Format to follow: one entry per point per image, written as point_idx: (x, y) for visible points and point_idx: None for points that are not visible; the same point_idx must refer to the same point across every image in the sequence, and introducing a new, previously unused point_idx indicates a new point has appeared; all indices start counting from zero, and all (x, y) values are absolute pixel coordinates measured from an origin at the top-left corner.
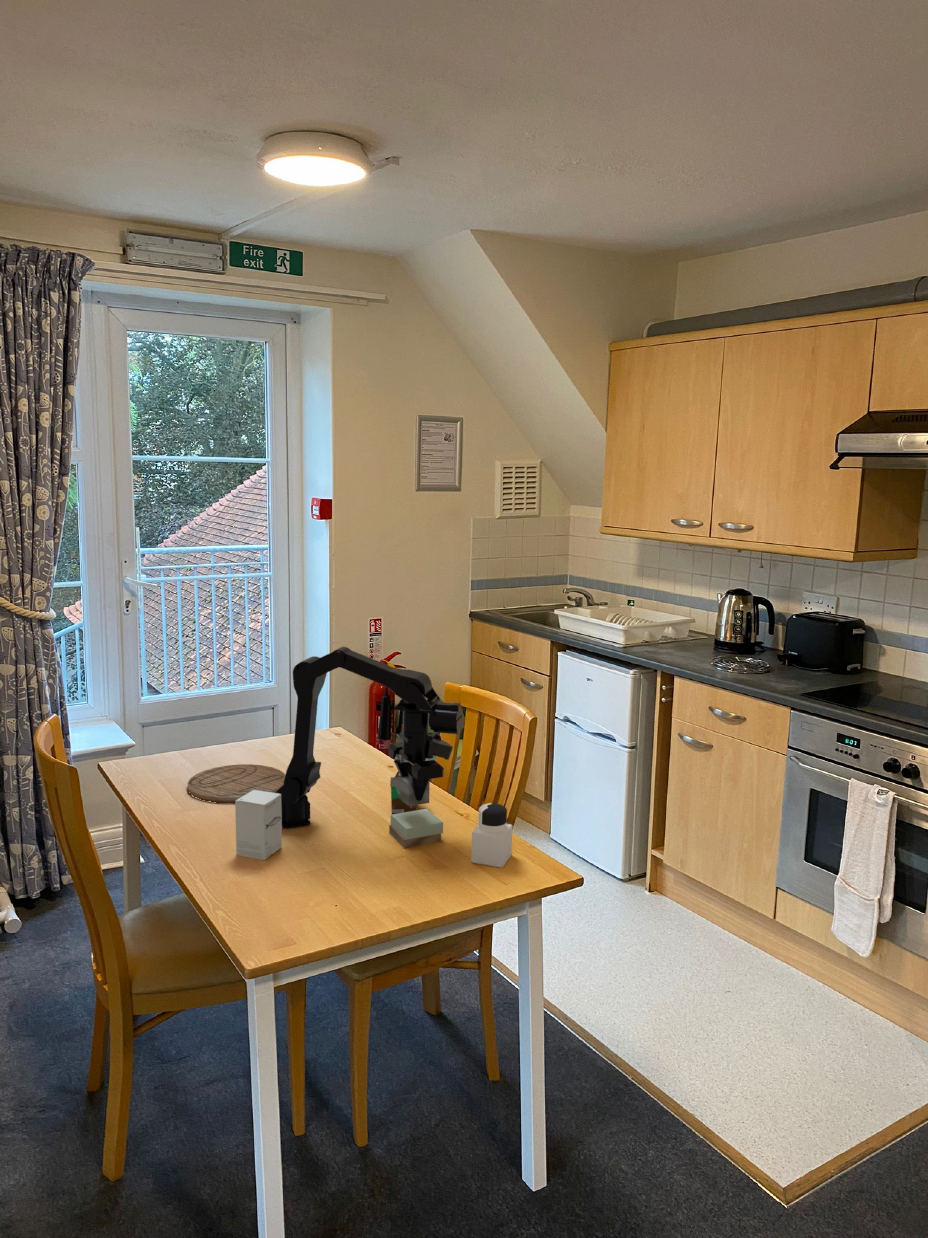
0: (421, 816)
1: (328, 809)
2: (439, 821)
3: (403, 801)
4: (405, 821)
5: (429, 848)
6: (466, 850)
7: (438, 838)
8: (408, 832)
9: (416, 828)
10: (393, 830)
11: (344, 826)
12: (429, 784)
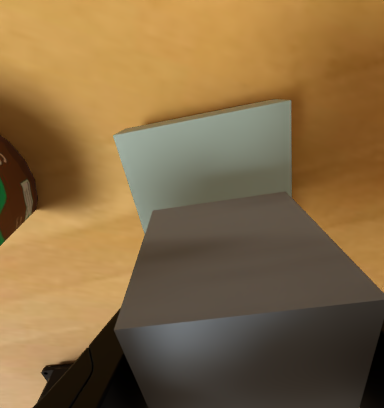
0: (195, 177)
1: (3, 328)
2: (273, 114)
3: (2, 198)
4: None
5: (300, 157)
6: (377, 27)
7: None
8: None
9: None
10: None
11: (106, 314)
12: (363, 273)
